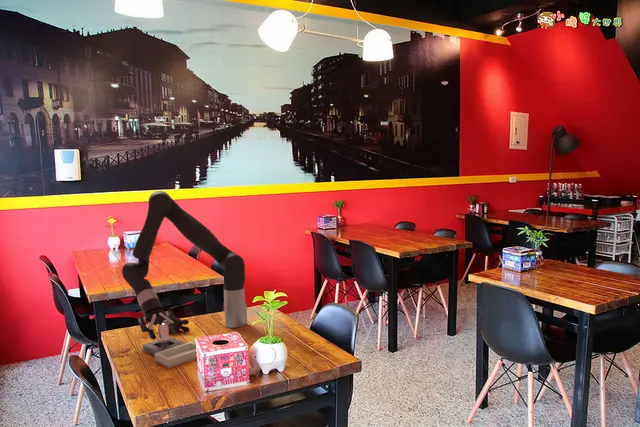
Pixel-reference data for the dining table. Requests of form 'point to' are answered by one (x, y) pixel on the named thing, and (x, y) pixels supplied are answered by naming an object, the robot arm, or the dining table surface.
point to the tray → (176, 355)
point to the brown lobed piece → (180, 325)
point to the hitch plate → (154, 346)
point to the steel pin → (163, 335)
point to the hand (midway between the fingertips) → (164, 335)
